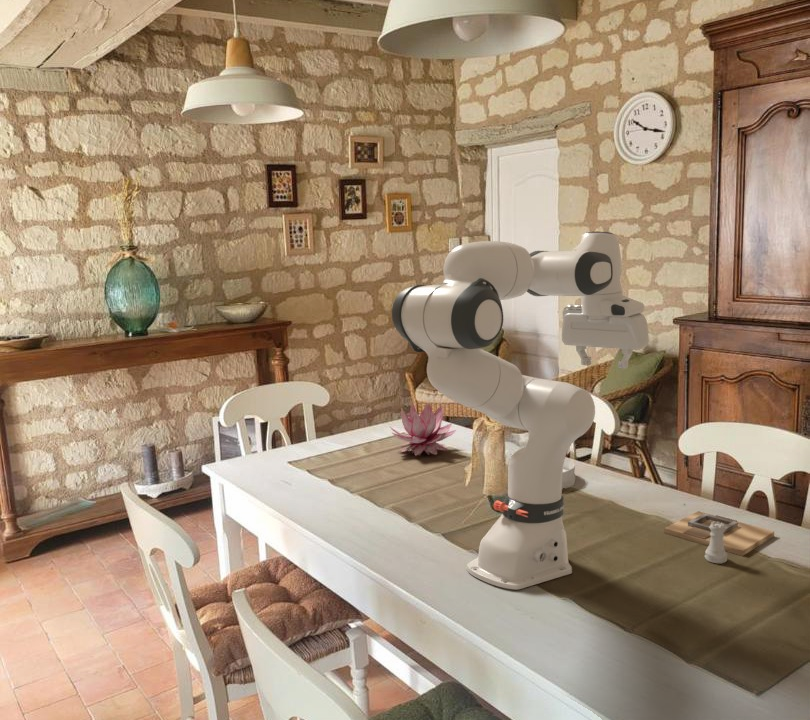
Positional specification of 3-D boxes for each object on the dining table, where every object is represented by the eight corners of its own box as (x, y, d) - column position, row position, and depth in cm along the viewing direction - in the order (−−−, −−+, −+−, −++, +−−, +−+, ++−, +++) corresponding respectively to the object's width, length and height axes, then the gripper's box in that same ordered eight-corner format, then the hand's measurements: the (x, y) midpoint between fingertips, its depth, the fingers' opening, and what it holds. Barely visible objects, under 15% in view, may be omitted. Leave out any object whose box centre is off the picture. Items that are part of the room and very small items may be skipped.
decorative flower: (385, 446, 250) (384, 402, 248) (446, 442, 254) (446, 399, 252) (395, 463, 229) (395, 415, 227) (462, 459, 233) (462, 412, 231)
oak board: (742, 556, 158) (743, 546, 158) (664, 532, 171) (664, 523, 171) (774, 536, 168) (774, 527, 168) (698, 516, 182) (698, 507, 181)
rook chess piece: (708, 553, 159) (710, 518, 158) (730, 559, 156) (732, 522, 155) (701, 560, 156) (703, 524, 155) (723, 566, 153) (725, 529, 152)
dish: (576, 494, 199) (576, 476, 199) (493, 490, 204) (493, 472, 203) (574, 470, 221) (574, 454, 220) (499, 467, 225) (499, 451, 225)
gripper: (554, 306, 169) (557, 365, 172) (636, 308, 154) (638, 373, 157) (570, 302, 173) (573, 360, 176) (651, 304, 159) (653, 367, 161)
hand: (604, 366), depth 166 cm, fingers open, 8 cm apart
